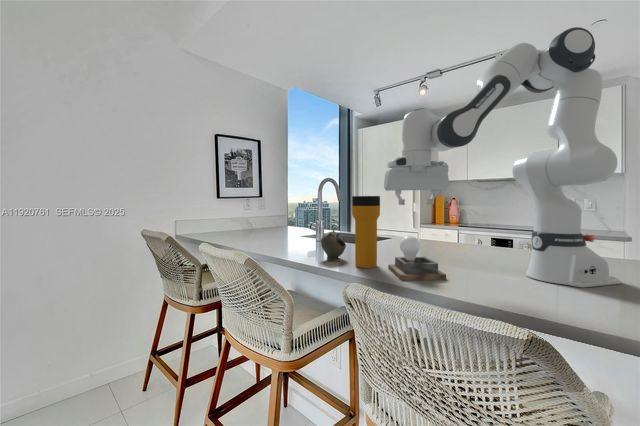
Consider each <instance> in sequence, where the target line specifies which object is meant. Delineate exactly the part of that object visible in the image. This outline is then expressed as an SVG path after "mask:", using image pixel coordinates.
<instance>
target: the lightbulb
mask: <svg viewBox="0 0 640 426" xmlns="http://www.w3.org/2000/svg"><path fill="white" fill-rule="evenodd" d="M399 248H400V251H401V253H402V254H403V257H405V259H406V263H414V260H415V257H417V255H418V253H419V251H420V248H421V243H420V240H419V239H418V238H417V237H415V236H414V235H406V236H404V237H402V239H401V240H400V241H399Z"/></svg>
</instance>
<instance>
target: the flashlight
mask: <svg viewBox="0 0 640 426" xmlns="http://www.w3.org/2000/svg"><path fill="white" fill-rule="evenodd" d="M351 215H352V218H353V219H354V222H355V224H354V229H355V230H354V233H355V235H354V237H355V239H354V243H355V244H354V246H355V247H354V248H355V249H354V250H355V251H354V252H355V255H354V256H355V259H354V261H355V263H354V264H355V267H358V268H363V269H373V268H375V267H377V266H378V220H379V217H380V215H381V196H380V195H368V194H364V195H353V196H352V197H351Z"/></svg>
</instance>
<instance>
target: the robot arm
mask: <svg viewBox="0 0 640 426" xmlns="http://www.w3.org/2000/svg"><path fill="white" fill-rule="evenodd" d="M595 49H596V41H595V38H594V35H593V34H592V33H591V31H589V30H588V29H587V28H584V27H579V26H576V27H571V28H568V29H566V30H563V31H562V32H561V33H558V34H557V35H556V36H555V37H554V38H553V39H552V40H551V42H549V44H547V45H546V46H545V47H544V48H542V49H537V48H536V46H534V45H533V44H532V43H527V42H521V43H518V44H515V45H513V46H512V47H510V48H509V49H508V50H506V51H505V52H503V54H501V55H500V56H499V57H497V58H496V59H495V60H494V61H493V62H492V63H491V64H490V65H489V66H488V67H487V68H486V69H485V70H484V71H483V72H482V74H481V75H480V77H478V79H477V81H476V84H475V85H476V92H477V93H476V94H475V95H474V96H473V97H472V98H471V99H470V101H468V102H467V103H466V104H465V105H464V106H463V107H462V108H459V109H455V110H453V111H451V112H450V113H448V114H446V115H445V116H444V117H440V116H438V115H436V114H435V113H433V112H432V111H430V109H429V108H427V107H425V108H424V107H423V108H421V107H420V108H417V109H414V110H411V111H409V112H408V113H406V114H405V116H404V117H403V121H402V131H401V141H402V145H403V146H402V149H401V150H402V151H401V156H399V157H396V158H395V159H390V160H389V161H388V162H387V170H386V172H385V174H384V179H383V182H384V183H383V188H384V189H385V191H387V192H388V191H389V192H390V191H394V192H395V193H394V195H395V196H396V199H397V200H398V205H399V206H405V198H402V196H401V194H402V191H430V194H431V196H430V197H429V198H426V199H427V203H426V204H427V205H434V203H435V198H436V197H437V195H438V191H445V190H446V191H447V190H448V188H449V187H450V180H449V179H450V178H449V165H448V164H447V163H446V162H445V161H443V160H441V161H437V160H436V161H435V160H432V151H435V152H447V151H448V150H449V151H450V150H452V149H455V148H460V147H465V146H466V145H468V144H470V143H471V142H472V141H473V140H474V138H475V137H476V136H477V135H476V134H477V133H478V130H479V128H480V125H481V124H482V122H483V121H484V119H485V118H486V117H487V116H489V114H490V113H491V112H492V111H493V110H494V109H495V108H496V107H497V105H498V104H499V103H500V102H502V101H504V100H505V99H507V98H508V97H509V96H511V95H512V94H513V92H515V91H516V90H517V89H518V88H519V87H520V86H523V87H524V89H526V90H527V91H529V92H530V93H534V94H541V93H545V92H547V91H550V90H552V89H553V88H554V98H553V101H552V104H551V108H550V112H549V116H548V120H547V124H546V127H545V128H546V132H547V134H548V135H549V136H550V137H551V138H552V139H555V140H557V141H560V144H559V147H558V148H556V149H548V150H541V151H535V152H532V153H528V154H526V155H523V156H520V157H518V158H517V159H516V160H515V162H514V163H513V166H512V176H513V179H514V180H515V182H516V183H518V184H519V185H520V186H522V187H523V189H525V191H526V192H527V194H528V195H529V198H530V199H531V200H530V201H531V203H532V206H533V207H532V208H533V230H532V231H531V246H532V250H531V255H530V260H529V264H528V268H527V269H526V272H525V275H526V276H527V277H529V278H531V279H535V280H537V281H542V282H546V283H551V284H553V283H554V284H561V285H566V286H570V287H571V286H572V287H575V288H576V287H577V288H591V287H600V286H610V285H611V286H612V285H620V284H621V280H620V279H619V278H617V277H614V276H611V275H610V270H609V269H610V268H609V263H608V261H607V260H606V259H605V258H603V257H602V256H601V255H599V254H598V253H596V252H595V251H594V250H592V249H591V248H589V247H588V246H587V243H586V242H589V243H593V242H594V241H595V240H596V236H595V235H593V234H583V233H582V232H581V231H582V229H581V228H582V212H583V211H582V208H581V205H579V203H577V201H575V200H572V199H570V198H568V197H567V196H566V195H565V193H564V192H563V189H562V187H564V186H585V185H586V186H587V185H592V184H598V183H601V182H606V181H607V180H609V179H610V178H611V177H612V176H613V175H614V174H615V172H616V170H617V167H618V158H617V157H618V156H617V155H616V153H615V152H614V150H613V149H612V148H610V146H607V145H605V144H603V143H602V142H601V141H600V140H599V139H598V137H597V135H596V131H595V129H596V123H597V122H596V121H597V116H598V113H599V108H600V104H601V101H602V100H601V98H602V94H603V93H602V91H603V77H602V75H601V73H600V72H599V71H598V70H597V69H593V68H590V67H591V65H593V64H594V62H595V60H596V54H595Z"/></svg>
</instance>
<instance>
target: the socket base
mask: <svg viewBox="0 0 640 426" xmlns="http://www.w3.org/2000/svg"><path fill="white" fill-rule="evenodd" d="M388 270H389V271H390V272H391V273H392V274H393V275H395V277H396V278H398V279H399V280H400V281H422V280H423V281H426V280H427V281H428V280H432V281H434V280H435V281H436V280H437V281H438V280H440V281H441V280H447V274H446V273H444V272H443V271H441V270H439V263H438V262H436V261H434V260H432V259H430V258H428V257H427V256H416V257H415V260H414V263H406V259H405V256H395V257H394V264H388Z"/></svg>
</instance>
